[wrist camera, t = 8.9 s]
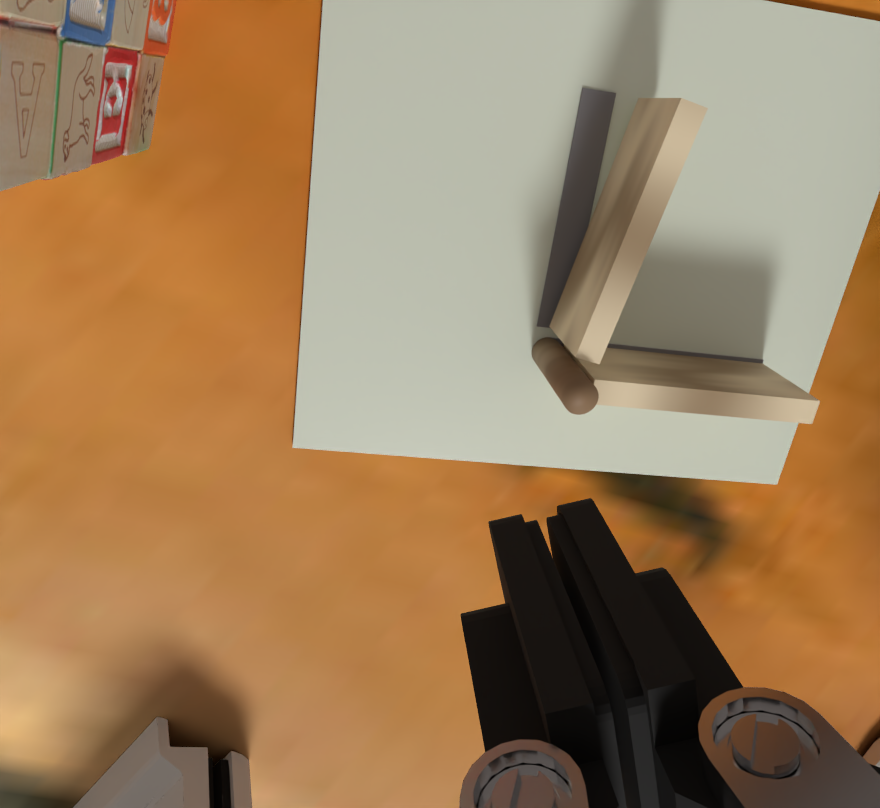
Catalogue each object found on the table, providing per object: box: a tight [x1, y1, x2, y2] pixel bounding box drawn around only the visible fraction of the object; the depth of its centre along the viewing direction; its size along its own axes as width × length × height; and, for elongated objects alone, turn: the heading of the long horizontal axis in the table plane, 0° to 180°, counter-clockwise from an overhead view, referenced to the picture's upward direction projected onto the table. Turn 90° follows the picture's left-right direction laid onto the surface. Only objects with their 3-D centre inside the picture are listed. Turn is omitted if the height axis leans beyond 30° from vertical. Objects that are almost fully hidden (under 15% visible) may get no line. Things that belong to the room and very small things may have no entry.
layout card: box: [293, 0, 880, 485], centre depth 27 cm, size 21×18×1 cm
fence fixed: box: [532, 337, 820, 424], centre depth 27 cm, size 10×1×5 cm, turn 82°
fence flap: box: [549, 98, 708, 364], centre depth 25 cm, size 8×1×4 cm, turn 162°
